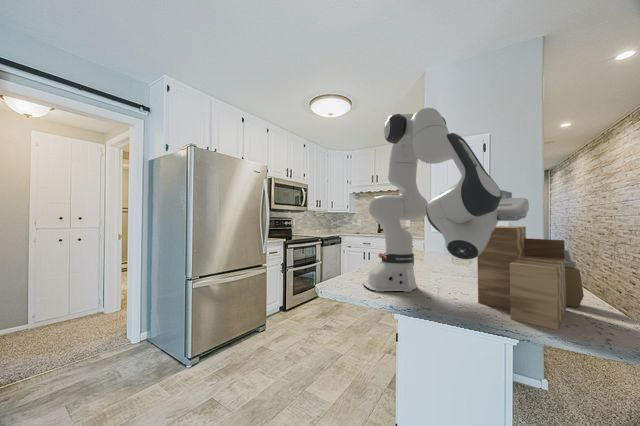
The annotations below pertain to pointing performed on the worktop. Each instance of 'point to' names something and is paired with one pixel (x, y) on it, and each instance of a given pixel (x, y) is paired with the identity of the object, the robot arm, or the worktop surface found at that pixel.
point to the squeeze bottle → (572, 283)
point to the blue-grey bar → (506, 194)
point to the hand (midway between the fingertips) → (491, 196)
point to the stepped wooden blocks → (523, 276)
